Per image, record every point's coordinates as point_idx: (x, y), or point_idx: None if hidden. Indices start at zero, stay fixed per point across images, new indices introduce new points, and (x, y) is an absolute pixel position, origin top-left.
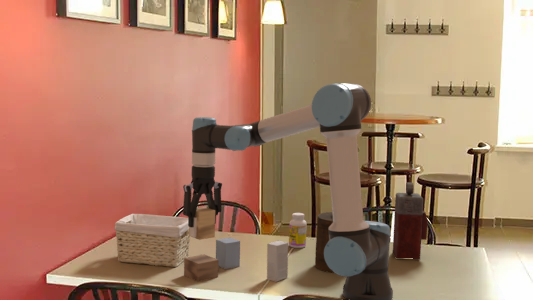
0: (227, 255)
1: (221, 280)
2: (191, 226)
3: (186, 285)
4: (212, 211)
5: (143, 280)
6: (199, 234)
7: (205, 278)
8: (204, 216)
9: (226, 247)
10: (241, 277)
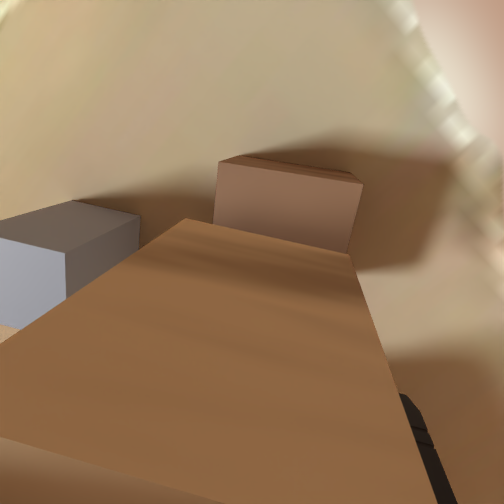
0: (98, 229)
1: (262, 105)
2: (404, 401)
3: (432, 167)
4: (16, 412)
5: (489, 342)
6: (351, 272)
7: (309, 166)
8: (281, 396)
9: (77, 244)
10: (162, 71)
